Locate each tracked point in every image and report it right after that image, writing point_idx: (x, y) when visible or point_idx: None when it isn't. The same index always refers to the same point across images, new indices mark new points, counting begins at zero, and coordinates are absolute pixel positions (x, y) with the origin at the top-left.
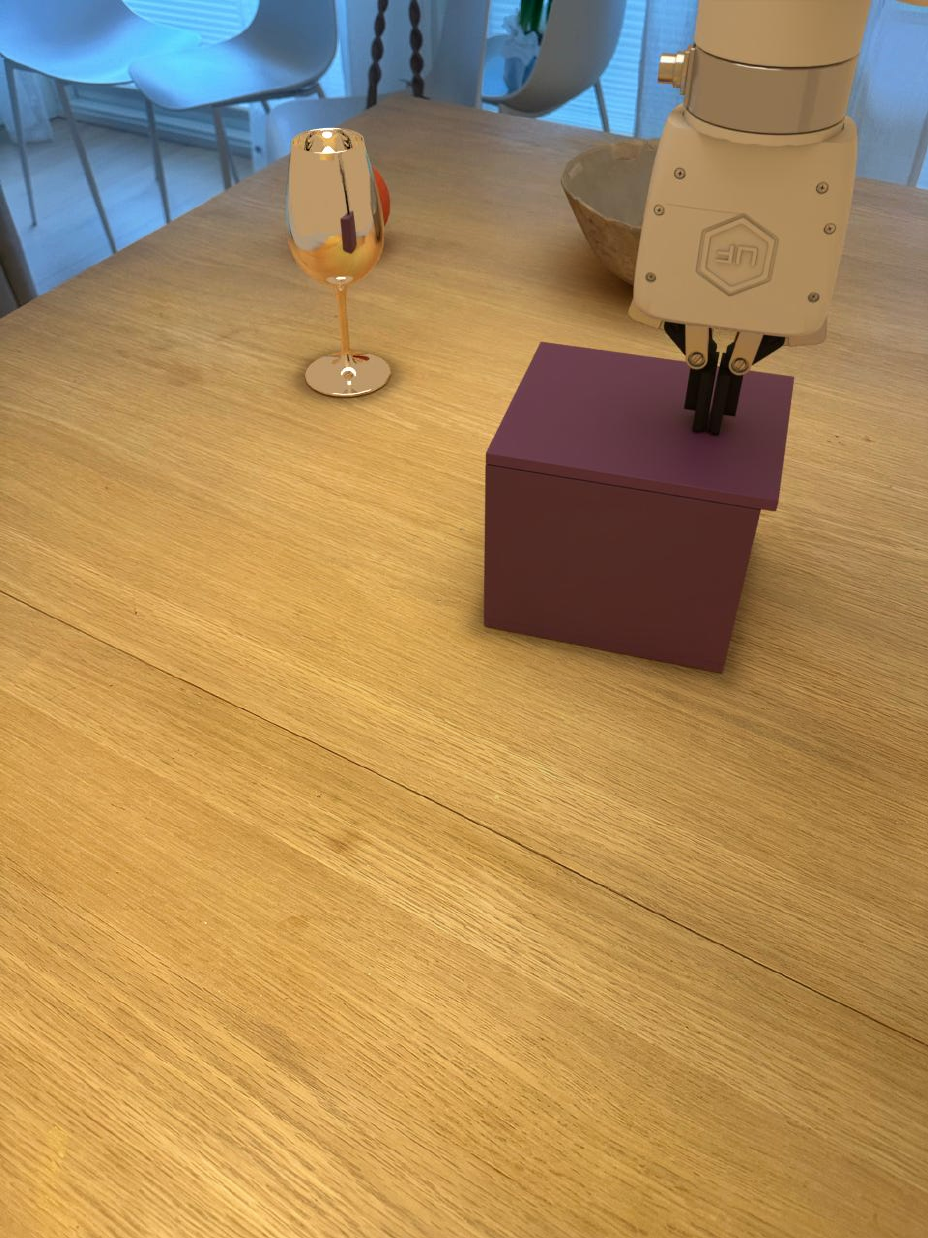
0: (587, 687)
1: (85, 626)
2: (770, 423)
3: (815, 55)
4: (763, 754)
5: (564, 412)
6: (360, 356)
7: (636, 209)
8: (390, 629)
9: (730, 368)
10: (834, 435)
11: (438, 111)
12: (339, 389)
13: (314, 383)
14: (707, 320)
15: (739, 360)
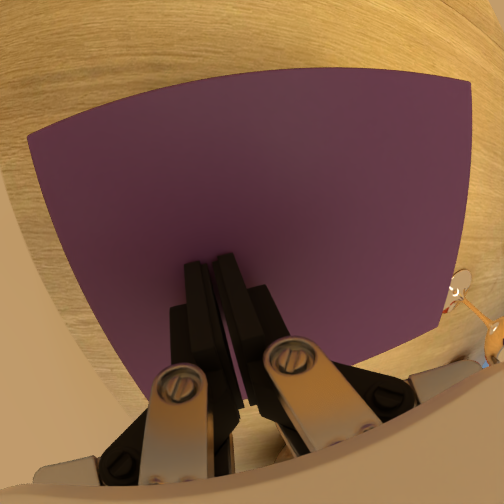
0: (227, 44)
1: (492, 43)
2: (130, 332)
3: None
4: (74, 53)
5: (419, 208)
6: (451, 307)
7: None
8: (385, 60)
9: (199, 371)
10: None
11: None
12: (459, 276)
13: (468, 273)
14: (348, 474)
15: (183, 396)
